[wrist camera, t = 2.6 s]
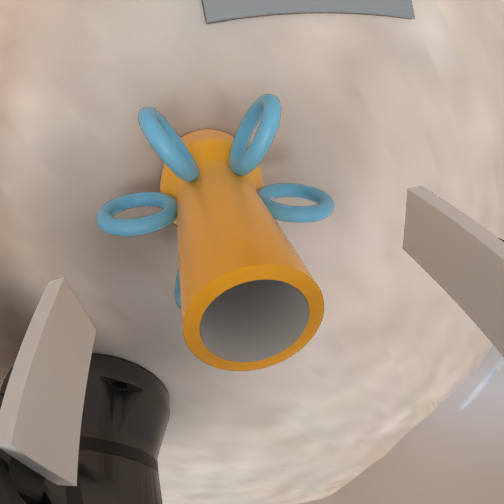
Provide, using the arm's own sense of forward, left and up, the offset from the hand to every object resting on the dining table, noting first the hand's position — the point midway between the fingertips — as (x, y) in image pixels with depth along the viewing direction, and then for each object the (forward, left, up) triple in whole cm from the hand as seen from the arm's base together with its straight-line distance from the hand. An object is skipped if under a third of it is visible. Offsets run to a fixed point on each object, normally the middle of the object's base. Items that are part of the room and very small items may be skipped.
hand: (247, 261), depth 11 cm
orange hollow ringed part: (0, 0, -12) cm, 12 cm away
